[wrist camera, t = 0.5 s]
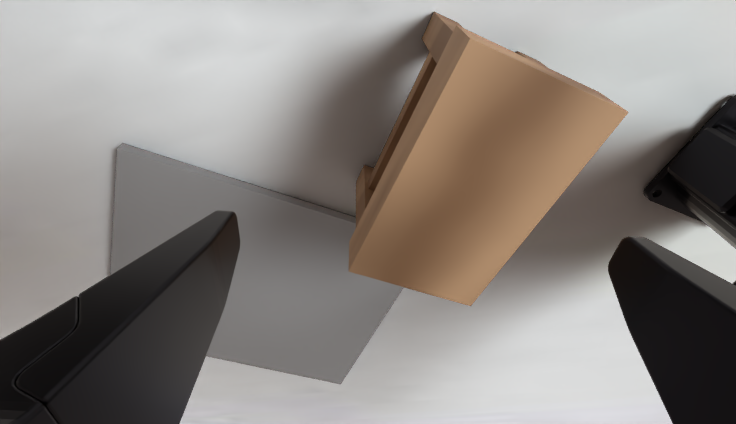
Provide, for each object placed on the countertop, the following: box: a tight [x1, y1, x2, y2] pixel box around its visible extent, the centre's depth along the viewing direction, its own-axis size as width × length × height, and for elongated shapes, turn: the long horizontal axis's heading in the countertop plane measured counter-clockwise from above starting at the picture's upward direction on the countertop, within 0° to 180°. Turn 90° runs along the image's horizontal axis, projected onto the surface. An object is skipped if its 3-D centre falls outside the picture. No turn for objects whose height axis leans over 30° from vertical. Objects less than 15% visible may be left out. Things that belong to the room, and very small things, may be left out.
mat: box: [110, 144, 404, 384], centre depth 27 cm, size 18×16×1 cm
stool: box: [349, 12, 628, 306], centre depth 18 cm, size 6×10×7 cm, turn 158°
